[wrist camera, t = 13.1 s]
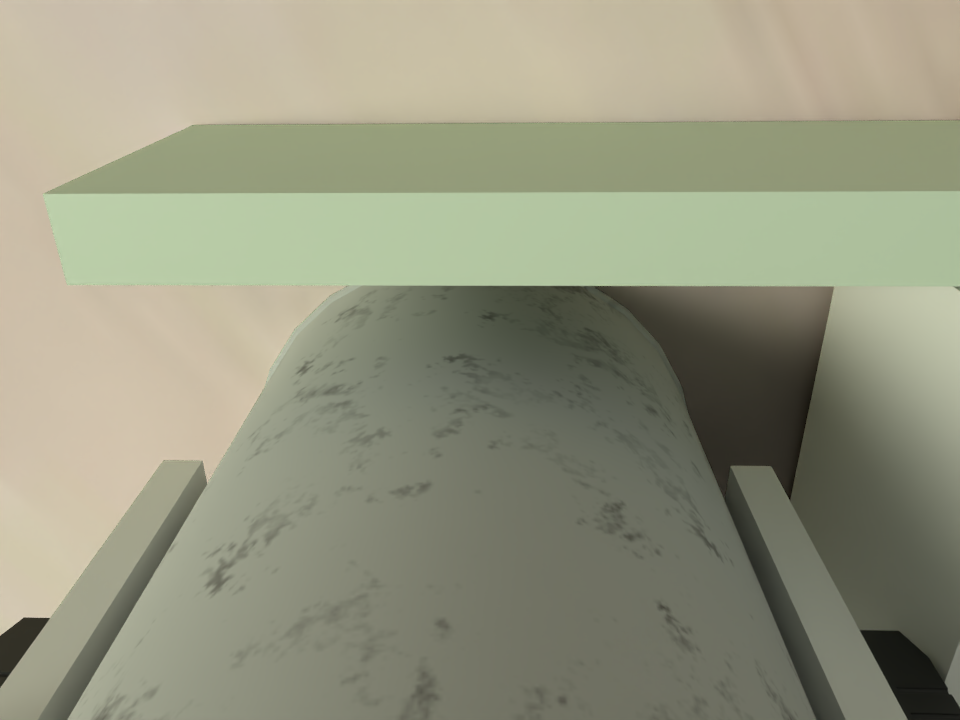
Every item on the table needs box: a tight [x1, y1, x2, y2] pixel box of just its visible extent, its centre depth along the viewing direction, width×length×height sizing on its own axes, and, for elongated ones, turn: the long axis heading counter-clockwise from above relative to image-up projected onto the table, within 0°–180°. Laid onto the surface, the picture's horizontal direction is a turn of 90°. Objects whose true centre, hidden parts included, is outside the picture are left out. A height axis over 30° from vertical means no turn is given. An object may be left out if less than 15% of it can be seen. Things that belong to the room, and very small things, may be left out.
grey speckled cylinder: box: [67, 285, 816, 720], centre depth 12 cm, size 10×10×12 cm
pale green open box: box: [43, 120, 960, 286], centre depth 15 cm, size 17×14×5 cm
